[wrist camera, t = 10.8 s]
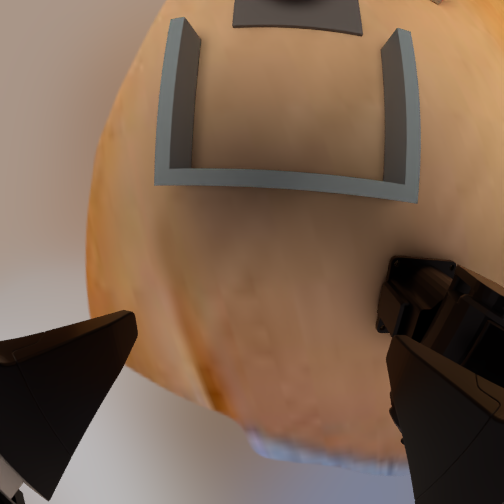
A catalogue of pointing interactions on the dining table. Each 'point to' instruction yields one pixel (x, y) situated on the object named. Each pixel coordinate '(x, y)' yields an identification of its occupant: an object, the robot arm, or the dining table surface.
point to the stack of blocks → (437, 1)
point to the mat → (300, 14)
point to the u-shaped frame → (392, 187)
